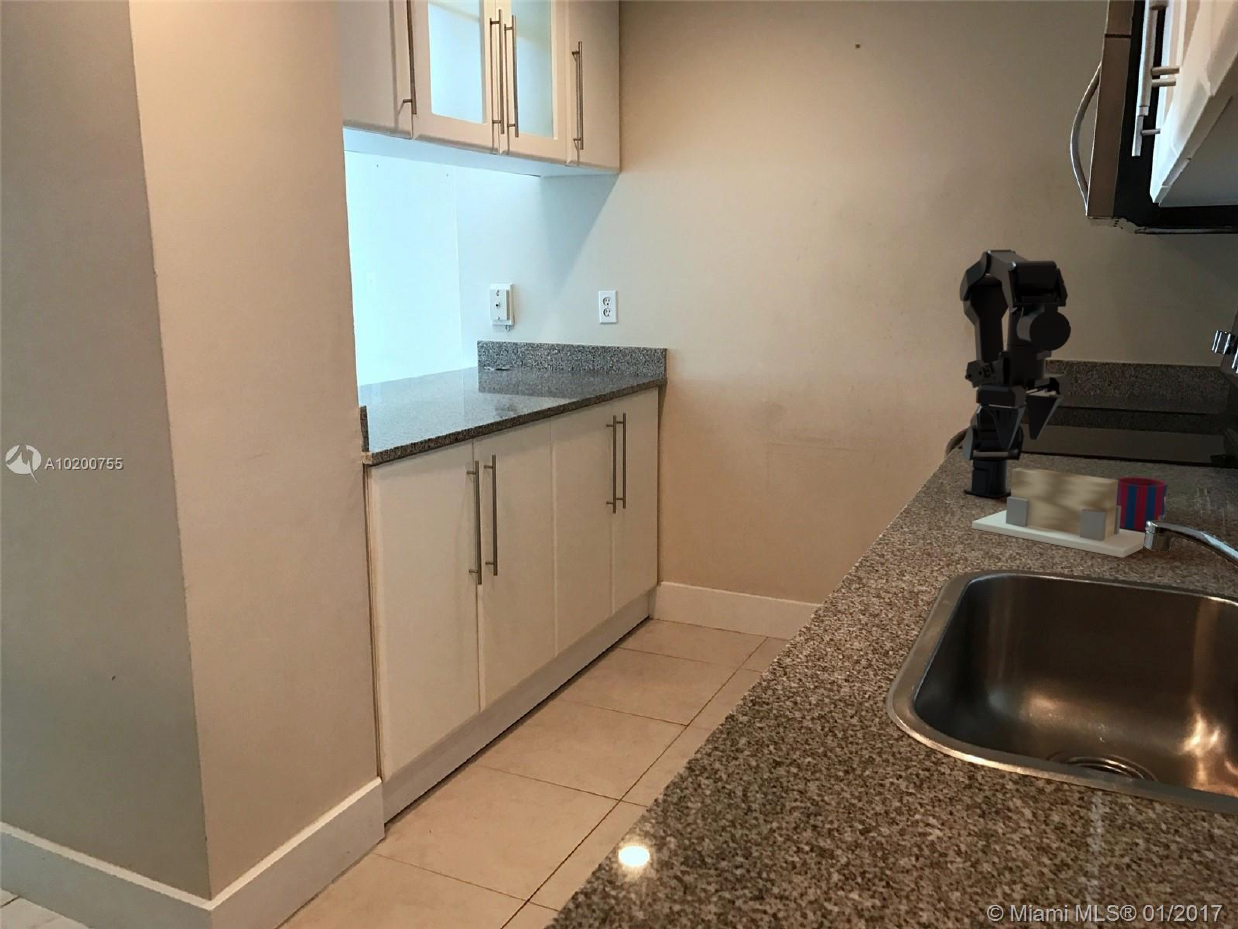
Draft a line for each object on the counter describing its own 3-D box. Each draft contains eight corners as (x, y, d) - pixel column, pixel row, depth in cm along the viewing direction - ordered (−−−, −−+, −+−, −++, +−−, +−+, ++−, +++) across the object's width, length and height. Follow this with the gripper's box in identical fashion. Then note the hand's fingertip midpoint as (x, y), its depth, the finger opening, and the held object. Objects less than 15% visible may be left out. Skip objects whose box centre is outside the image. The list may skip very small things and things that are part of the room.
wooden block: (1116, 534, 137) (1120, 479, 136) (1104, 539, 135) (1109, 483, 133) (1021, 517, 148) (1024, 466, 146) (1009, 521, 145) (1012, 469, 144)
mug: (1159, 533, 141) (1163, 488, 139) (1085, 524, 147) (1088, 480, 145) (1166, 523, 146) (1170, 480, 145) (1095, 515, 152) (1098, 473, 151)
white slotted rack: (1007, 515, 153) (1009, 484, 152) (1155, 541, 136) (1158, 507, 135) (971, 528, 146) (973, 496, 145) (1123, 557, 129) (1125, 521, 128)
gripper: (1006, 336, 159) (1000, 429, 162) (946, 346, 147) (941, 446, 150) (1074, 340, 151) (1066, 437, 154) (1016, 350, 139) (1009, 456, 142)
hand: (1019, 443), depth 150 cm, fingers open, 9 cm apart
